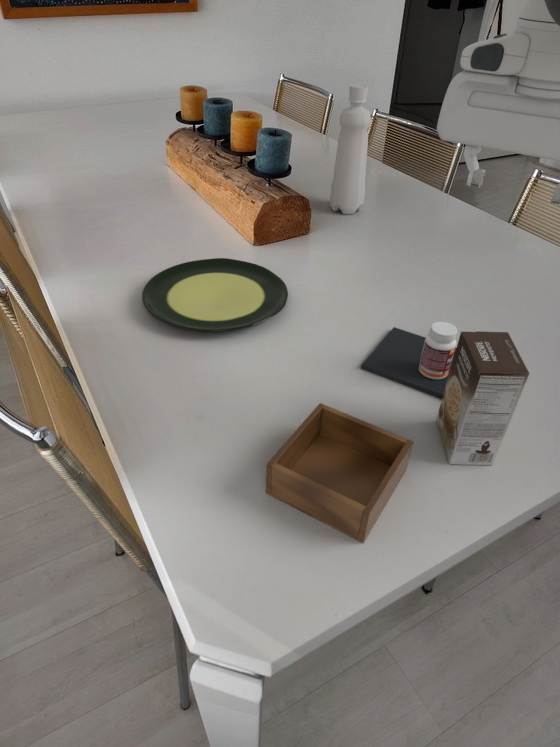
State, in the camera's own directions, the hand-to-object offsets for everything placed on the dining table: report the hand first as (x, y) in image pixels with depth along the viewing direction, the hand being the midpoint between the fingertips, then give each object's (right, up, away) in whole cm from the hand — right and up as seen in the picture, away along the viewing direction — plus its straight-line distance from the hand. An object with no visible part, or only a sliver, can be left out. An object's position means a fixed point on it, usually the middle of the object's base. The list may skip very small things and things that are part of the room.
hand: (514, 194), depth 62 cm
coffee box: (-1, -30, +15) cm, 34 cm away
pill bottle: (-2, -20, +27) cm, 34 cm away
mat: (-1, -20, +29) cm, 35 cm away
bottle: (-9, +24, +85) cm, 88 cm away
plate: (-39, -6, +44) cm, 60 cm away
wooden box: (-19, -35, +8) cm, 41 cm away
